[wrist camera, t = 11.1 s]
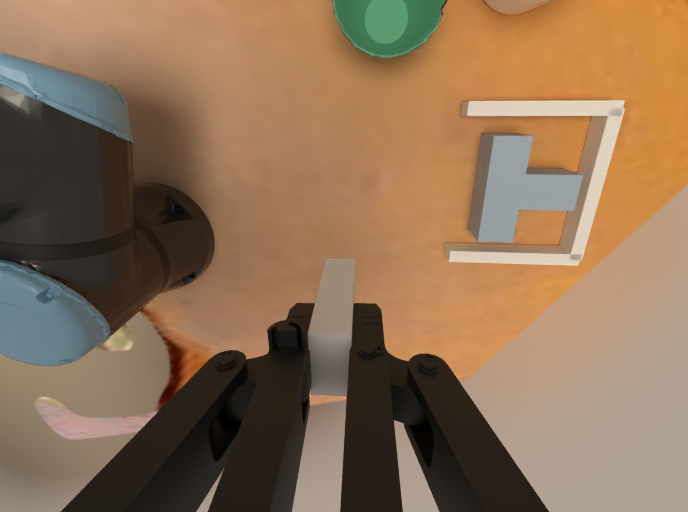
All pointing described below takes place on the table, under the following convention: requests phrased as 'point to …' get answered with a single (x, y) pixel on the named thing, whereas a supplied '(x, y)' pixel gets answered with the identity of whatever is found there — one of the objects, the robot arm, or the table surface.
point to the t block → (514, 187)
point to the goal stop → (591, 168)
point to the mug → (388, 24)
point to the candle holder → (514, 5)
